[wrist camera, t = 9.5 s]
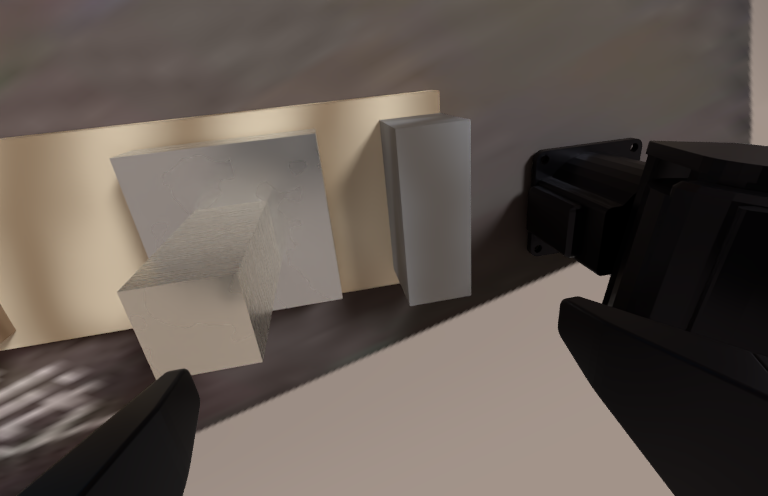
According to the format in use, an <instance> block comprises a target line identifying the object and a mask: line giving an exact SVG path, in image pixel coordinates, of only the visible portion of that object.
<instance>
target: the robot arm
mask: <svg viewBox="0 0 768 496" xmlns="http://www.w3.org/2000/svg"><path fill="white" fill-rule="evenodd" d="M632 144H633V147H632V149H631V150H630V147H631V145H632ZM641 150H642V142H641V140H639V139H635V138H626V139H618V140H611V141H603V142H596V143H589V144H581V145H574V146H566V147H559V148H552V149H544V150H540V151H538V152H537V153H536V154H535V155H534V158H533V167H532V183H531V189H530V190H529V197H528V213H527V230H528V245H527V249H528V251H529V253H531V254H532V255H534V256H542V255H548V254H554V253H559V252H560V253H561V254H562V255H564V256H565V257H567V258H573V259H575V260H576V261H578V262H579V263H581V264H583V265H584V266H585V267H587V268H588V269H590V270H591V271H593V272H594V273H596V274H597V275H599V276H602V275H610V276H611V277H610V280H609V283H608V286H607V290H606V293H605V296H604V300H603V302H602V304H601V303H598V302H594V301H591V300H588V299H585V298H582V297H572V298H566V299H564V300H562V302H561V304H560V312H559V320H558V330H559V334H560V336H561V338H562V340H563V341H564V343H565V344H566V346H567V348H568V349H569V351H570V352H571V354H572V356H573V357H574V359H575V360H576V362H577V363H578V365H579V367H580V369H581V370H582V372H583V374H584V375H585V377H586V378H587V380H588V381H589V383H590V384H591V386H592V388H593V389H594V390H595V392H596V393H597V394H598V396H599V397H600V398H601V400H602V401H603V402H604V404H605V405H606V406H607V408H608V409H609V410H610V412H611V413H612V414H613V415H614V417H615V418H616V419H617V421H618V422H619V423H620V425H621V426H622V427H623V429H624V430H625V431H626V433H627V434H628V435H629V436H630V438H631V439H632V440H633V442H634V443H635V444H636V446H637V447H638V448H639V450H640V451H641V452H642V454H643V455H644V456H645V457H646V459H647V460H648V461H649V462H650V464H651V465H652V467H653V468H654V469H655V471H656V472H657V473H658V474H659V476H660V477H661V478H662V480H663V481H664V482H665V483H666V485H667V486H668V488H669V489H670V490H671V491H672V493H673V494H674V495H675V496H768V146H761V145H752V144H743V143H716V142H676V141H649V145H648V148H647V151H646V154H648V157H647V160H646V162H643V161H640V155H641ZM543 156H545V161H544V162H543V163H541V158H542V157H543ZM538 245H539V246H538ZM536 246H538V248H537V249H536V250H534V249H535V247H536ZM199 408H200V398H199V394H198V391H197V389H196V386H195V384H194V381H193V379H192V376H191V374H190V372H189V371H188V370H187V369H185V368H183V369H177V370H172V371H168V372H166V373H164V374H163V375H162V376H161V377H160V378H158V379H157V380H156V381H155V382H154V383H152V384H151V385H150V386H149V387H147V388H146V389H145V390H144V391H143V392H141V393H140V394H139V395H138V396H137V397H135V398H134V399H133V400H132V401H131V402H129V403H128V404H127V405H126V406H124V407H123V408H122V409H121V410H120V411H118V412H117V413H116V414H115V415H114V416H112V417H111V418H110V419H109V420H108V421H106V422H105V423H104V424H103V425H101V426H100V427H99V428H98V429H97V430H95V431H94V432H93V433H92V434H91V435H89V436H88V437H87V438H86V439H85V440H83V441H82V442H81V443H80V444H78V445H77V446H76V447H75V448H74V449H72V450H71V451H70V452H69V453H68V454H66V455H65V456H64V457H63V458H61V459H60V460H59V461H58V462H57V463H55V464H54V465H53V466H52V467H51V468H49V469H48V470H47V471H46V472H45V473H43V474H42V475H41V476H40V477H38V478H37V479H36V480H35V481H34V482H32V483H31V484H30V485H29V486H28V487H26V488H25V489H24V490H23V491H22V492H20V493H19V494H18V495H17V496H183V492H184V489H185V485H186V481H187V477H188V473H189V468H190V463H191V457H192V451H193V445H194V439H195V433H196V426H197V420H198V414H199Z"/></svg>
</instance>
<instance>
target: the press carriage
mask: <svg viewBox="0 0 768 496" xmlns="http://www.w3.org/2000/svg"><path fill="white" fill-rule="evenodd" d="M109 159H110V161H111V164H112V166H113V169H114V172H115V174H116V177H117V179H118V182H119V184H120V187H121V189H122V192H123V195H124V197H125V200H126V202H127V205H128V207H129V210H130V212H131V215H132V217H133V220H134V223H135V225H136V228H137V230H138V233H139V235H140V238H141V240H142V243H143V246H144V248H145V251H146V253H147V256H148V258H149V259H148V260H147V261H146V262H145V263H144V264H143V265H142V266H141V267H140V268H139V270H138V271H137V272H136V273H135V274H134V275H133V276H132V277H131V278H130V279H129V280H128V281H127V282H126V283H125V284H124V285H123V286H122V287H121V288H120V289H119V290H118V291H117V294H118V296H119V298H120V300H121V303H122V305H123V307H124V309H125V312H126V314H127V316H128V318H129V320H130V323H131V325H132V327H133V329H134V332H135V334H136V336H137V338H138V341H139V343H140V345H141V347H142V349H143V352H144V354H145V356H146V358H147V361H148V363H149V365H150V367H151V369H152V372H153V374H154V376H155V378H156V380H157V379H158V378H160V377H161V376H162V375H163V374H164V373H166V372H168V371H172V370H177V369H183V368H185V369H187V370H188V371H189V372H190V374H191V375H195V374H200V373H206V372H211V371H217V370H222V369H227V368H233V367H238V366H244V365H249V364H255V363H260V362H263V358H264V352H265V347H266V342H267V337H268V331H269V326H270V321H271V316H272V311H274V310H280V309H286V308H291V307H297V306H303V305H309V304H315V303H321V302H327V301H332V300H338V299H343V297H342V289H341V281H340V275H339V269H338V263H337V257H336V251H335V245H334V239H333V233H332V227H331V220H330V214H329V208H328V202H327V196H326V190H325V184H324V178H323V172H322V166H321V160H320V154H319V148H318V142H317V136H316V130H315V128H314V129H306V130H297V131H289V132H281V133H272V134H264V135H256V136H247V137H239V138H230V139H222V140H214V141H205V142H197V143H189V144H180V145H172V146H164V147H155V148H147V149H138V150H131V151H128V152H126V153H123V154H120V155H117V156H115V157H112V158H109Z"/></svg>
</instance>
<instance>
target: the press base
mask: <svg viewBox="0 0 768 496" xmlns="http://www.w3.org/2000/svg"><path fill="white" fill-rule="evenodd" d="M314 128H315V130H316V136H317V142H318V148H319V154H320V160H321V166H322V172H323V178H324V184H325V190H326V196H327V202H328V208H329V214H330V220H331V227H332V233H333V239H334V245H335V251H336V257H337V263H338V269H339V275H340V281H341V289H342V293H345V292H351V291H357V290H363V289H369V288H375V287H381V286H387V285H393V284H398V283H400V284H401V287H402V289H403V291H404V294H405V296H406V299H407V301H408V303H409V306H414V305H420V304H426V303H431V302H437V301H443V300H448V299H454V298H460V297H465V296H471V120H469V119H465V118H461V117H456V116H452V115H448V114H443V113H440V96H439V91H437V90H428V91H419V92H410V93H401V94H392V95H383V96H374V97H365V98H356V99H347V100H338V101H329V102H321V103H312V104H303V105H294V106H285V107H276V108H267V109H258V110H249V111H240V112H231V113H222V114H214V115H205V116H196V117H187V118H178V119H169V120H160V121H151V122H142V123H133V124H124V125H115V126H106V127H98V128H89V129H80V130H71V131H62V132H53V133H44V134H35V135H26V136H17V137H8V138H0V351H2V350H8V349H14V348H20V347H26V346H32V345H38V344H44V343H49V342H55V341H61V340H67V339H73V338H79V337H85V336H91V335H97V334H103V333H109V332H115V331H120V330H126V329H132V328H133V327H132V325H131V323H130V320H129V318H128V316H127V314H126V312H125V309H124V307H123V305H122V303H121V300H120V298H119V296H118V294H117V291H118V290H119V289H120V288H121V287H122V286H123V285H124V284H125V283H126V282H127V281H128V280H129V279H130V278H131V277H132V276H133V275H134V274H135V273H136V272H137V271H138V270H139V268H140V267H141V266H142V265H143V264H144V263H145V262H146V261H147V260H148V259H149V258H148V256H147V253H146V251H145V248H144V246H143V243H142V240H141V238H140V235H139V233H138V230H137V228H136V225H135V223H134V220H133V217H132V215H131V212H130V210H129V207H128V205H127V202H126V200H125V197H124V195H123V192H122V189H121V187H120V184H119V182H118V179H117V177H116V174H115V172H114V169H113V166H112V164H111V161H110V159H109V158H112V157H115V156H117V155H120V154H123V153H126V152H128V151H131V150H138V149H147V148H155V147H164V146H172V145H180V144H189V143H197V142H205V141H214V140H222V139H230V138H239V137H247V136H256V135H264V134H272V133H281V132H289V131H297V130H306V129H314Z"/></svg>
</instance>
